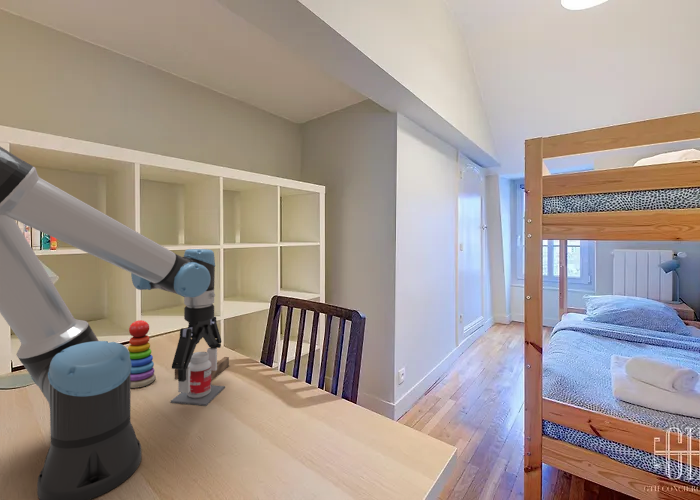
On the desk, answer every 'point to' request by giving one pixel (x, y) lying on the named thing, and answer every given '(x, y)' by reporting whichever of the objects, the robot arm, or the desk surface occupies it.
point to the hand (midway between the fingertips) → (199, 380)
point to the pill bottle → (200, 375)
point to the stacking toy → (140, 355)
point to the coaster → (204, 400)
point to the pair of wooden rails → (220, 367)
